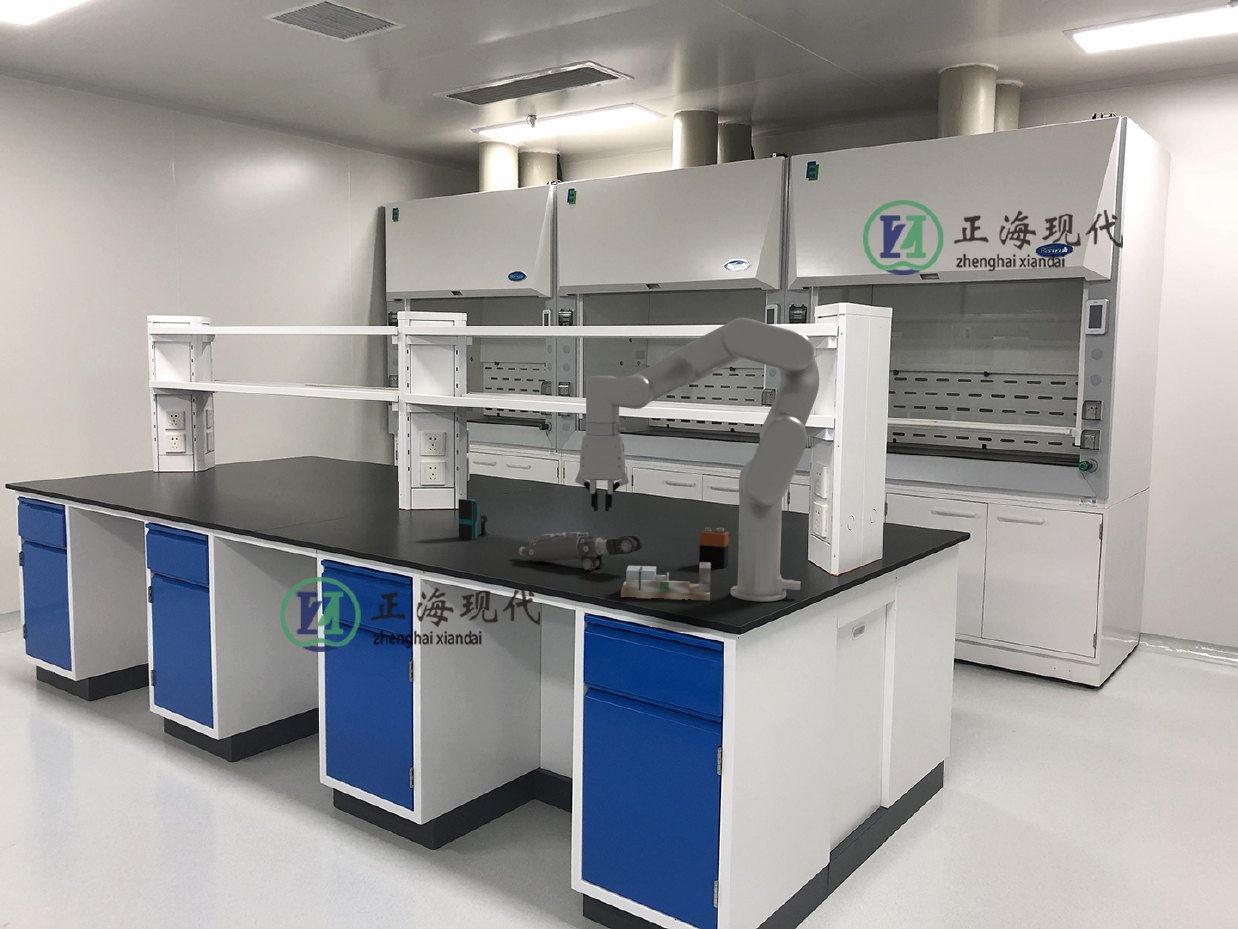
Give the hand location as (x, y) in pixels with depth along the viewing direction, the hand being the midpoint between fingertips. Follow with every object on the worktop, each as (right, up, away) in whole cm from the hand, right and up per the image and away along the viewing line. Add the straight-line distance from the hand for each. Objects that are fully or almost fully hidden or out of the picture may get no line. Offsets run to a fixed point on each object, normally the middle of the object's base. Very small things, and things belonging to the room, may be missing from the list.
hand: (601, 510), depth 214 cm
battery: (+29, -16, +31) cm, 45 cm away
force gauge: (+10, -18, -1) cm, 20 cm away
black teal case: (-39, -12, +67) cm, 79 cm away
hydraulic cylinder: (-7, -16, +28) cm, 33 cm away
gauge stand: (+15, -19, +1) cm, 24 cm away
